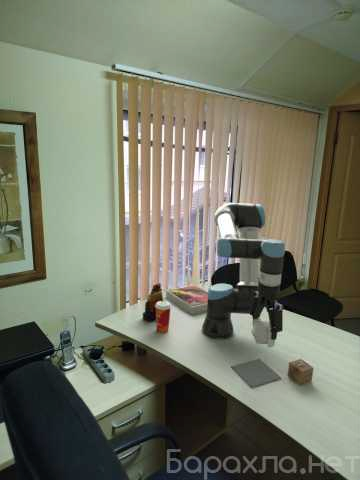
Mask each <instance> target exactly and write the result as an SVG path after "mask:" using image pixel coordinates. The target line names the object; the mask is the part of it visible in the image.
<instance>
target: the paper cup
mask: <svg viewBox="0 0 360 480" xmlns="http://www.w3.org/2000/svg"><path fill="white" fill-rule="evenodd" d="M155 307H156V321H155V322H156V323H155V324H156V332H157V333H159V334H167V333H168V332H169V329H170V328H169V327H170V320H171V319H170V317H171V308H172V305H171V302H170V301H167V300H163V301H159V302H157V303H156V305H155Z"/></svg>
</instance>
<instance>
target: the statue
mask: <svg viewBox="0 0 360 480" xmlns="http://www.w3.org/2000/svg"><path fill="white" fill-rule="evenodd" d="M146 299H147V300H146V301H145V304H144V306H145V307H144V312H142V319H143V320H144V321H146V322H147V323H152V322H156V307H155V305H156V303H157V302H159V301H164V297H163V292H162V284H161V283H160V282H159V283H154V284H152V289H151V291H150V294H149V296H148V297H147V298H146Z"/></svg>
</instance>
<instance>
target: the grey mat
mask: <svg viewBox="0 0 360 480" xmlns="http://www.w3.org/2000/svg"><path fill="white" fill-rule="evenodd" d="M230 368H231V369H232V370H233V371H234V372H235V373H236V374H237V375H238V376H239V377H240V379H242V380H243V381H244V382H245V383H246V384H247V386H249V388H251V389H253V388H257V387H259V386H262V385H265V384H269V383H272V382H276V381H278V380H279V381H280V380H281V379H282V377H281V376H280V375H279V374H278V373H277V372H276V371H274V370H273V369H272V368H271V367H270V366H268V365H267V363H265V362H264V361H263V360H261V358H256V359H253V360H249V361H245V362H241V363H238V364H237V363H236V364H234V365H231V366H230Z"/></svg>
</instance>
